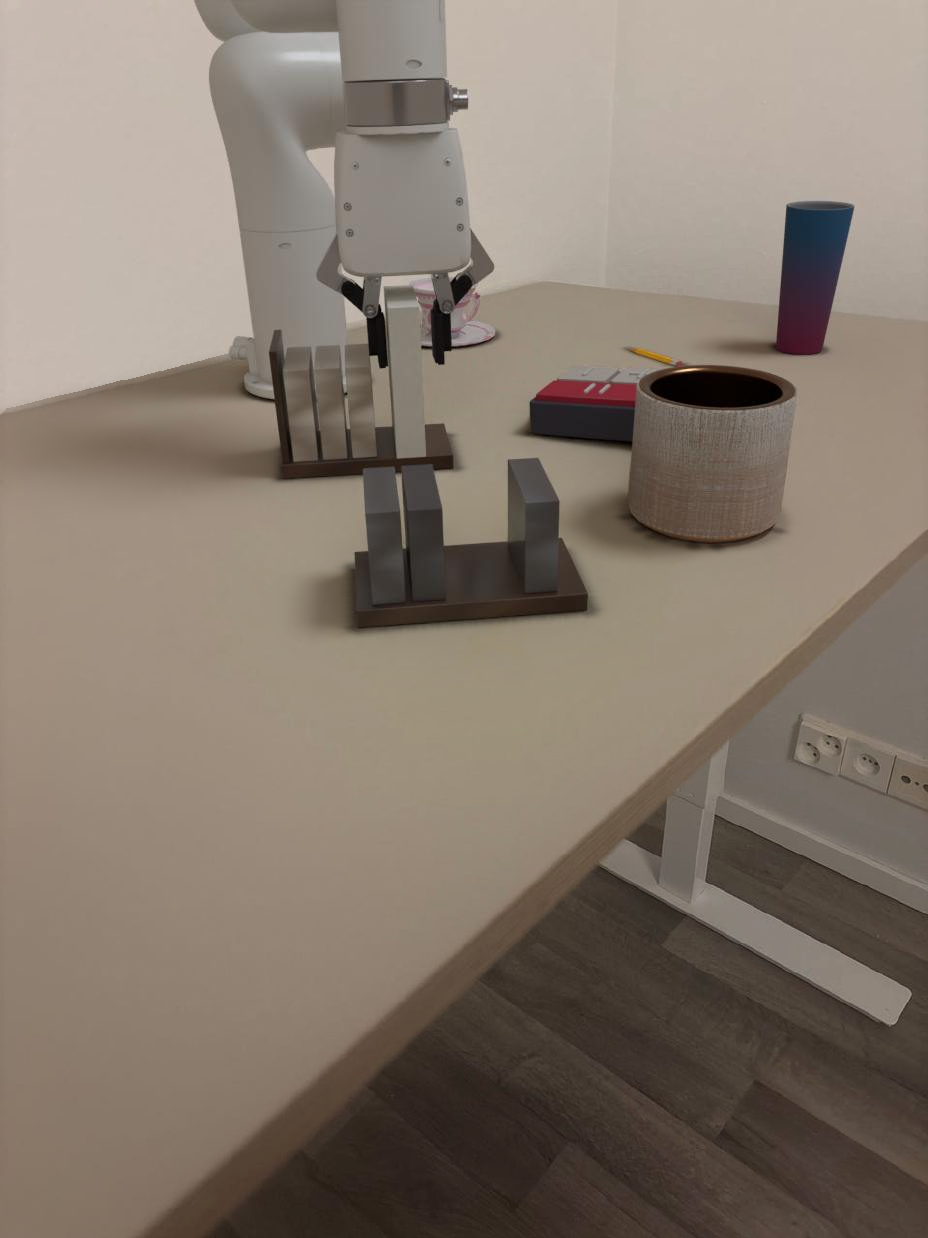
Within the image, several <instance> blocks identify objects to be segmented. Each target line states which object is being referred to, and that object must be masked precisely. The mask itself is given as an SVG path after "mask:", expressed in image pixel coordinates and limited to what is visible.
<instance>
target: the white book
mask: <svg viewBox="0 0 928 1238" xmlns="http://www.w3.org/2000/svg"><path fill="white" fill-rule="evenodd" d="M383 299H384V301H383V303H384V317H385V326H386V341H387V355H388V366H387V367H388V379H389V394H390V395H389V396H390V411H391V426H392V428H393V435H394V442H395V449H396V456H397V459H398V458H415V457H426V443H425V424H426V422H425V404H424V403H425V402H424V381H423V379H424V378H423V377H424V376H423V358H422V357H423V355H422V346H421V333H420V322H421V316H420V315H421V313H420V304H419V303H418V298H417V297H416V295H415V292H414V288H413V285H409V284H403V285H384V286H383Z"/></svg>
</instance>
